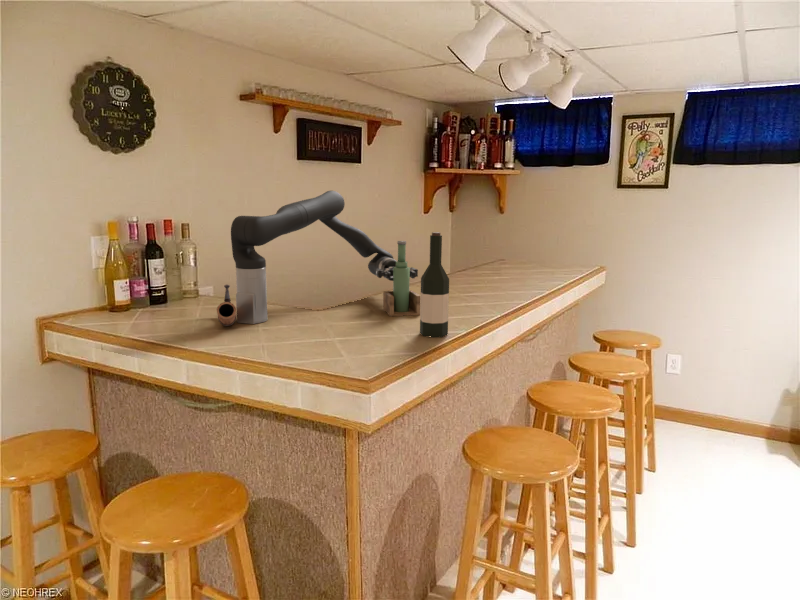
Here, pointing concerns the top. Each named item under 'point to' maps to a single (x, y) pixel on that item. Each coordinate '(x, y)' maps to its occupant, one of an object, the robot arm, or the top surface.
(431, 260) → the wine bottle
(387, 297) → the u rest
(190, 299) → the top surface
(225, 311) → the brown tobacco pipe
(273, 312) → the top surface
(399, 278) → the slim bottle
